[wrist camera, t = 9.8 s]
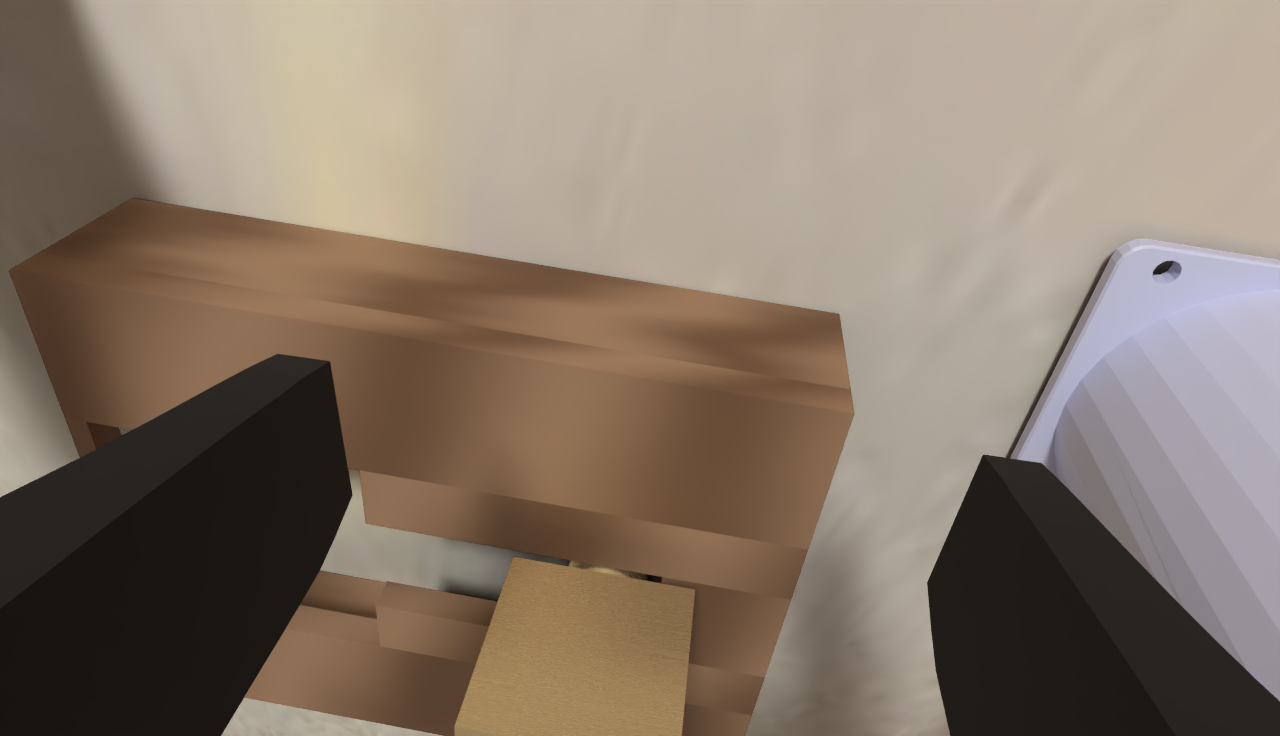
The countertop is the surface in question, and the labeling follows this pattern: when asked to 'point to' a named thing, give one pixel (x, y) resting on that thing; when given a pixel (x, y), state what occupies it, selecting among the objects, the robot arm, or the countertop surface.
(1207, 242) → the countertop surface
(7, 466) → the countertop surface
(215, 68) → the countertop surface
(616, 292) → the keyhole board
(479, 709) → the brass peg
